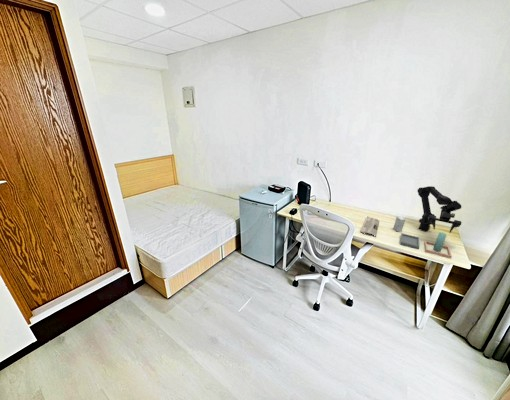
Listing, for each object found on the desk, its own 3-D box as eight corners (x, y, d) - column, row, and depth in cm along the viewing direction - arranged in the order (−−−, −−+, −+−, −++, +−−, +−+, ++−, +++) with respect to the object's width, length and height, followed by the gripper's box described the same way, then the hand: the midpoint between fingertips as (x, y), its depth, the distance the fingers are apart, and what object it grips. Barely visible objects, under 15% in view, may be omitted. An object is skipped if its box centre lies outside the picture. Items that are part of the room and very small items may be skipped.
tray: (400, 235, 181) (401, 233, 180) (418, 240, 175) (418, 237, 174) (399, 244, 169) (400, 241, 168) (418, 249, 162) (419, 246, 162)
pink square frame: (424, 242, 171) (425, 240, 170) (448, 248, 163) (448, 246, 162) (425, 251, 160) (426, 249, 159) (450, 258, 152) (451, 256, 151)
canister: (431, 249, 162) (437, 233, 157) (434, 247, 164) (440, 231, 159) (438, 252, 159) (444, 236, 153) (441, 251, 160) (447, 234, 155)
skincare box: (392, 228, 193) (396, 216, 188) (397, 228, 193) (401, 216, 188) (397, 232, 187) (400, 219, 183) (402, 232, 187) (405, 219, 183)
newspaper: (375, 237, 179) (376, 234, 178) (359, 233, 185) (360, 230, 184) (379, 221, 207) (380, 218, 205) (365, 218, 213) (365, 215, 212)
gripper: (432, 205, 165) (428, 223, 161) (465, 211, 155) (462, 230, 150) (429, 211, 174) (425, 228, 170) (460, 217, 163) (457, 236, 159)
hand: (441, 230), depth 162 cm, fingers open, 9 cm apart
